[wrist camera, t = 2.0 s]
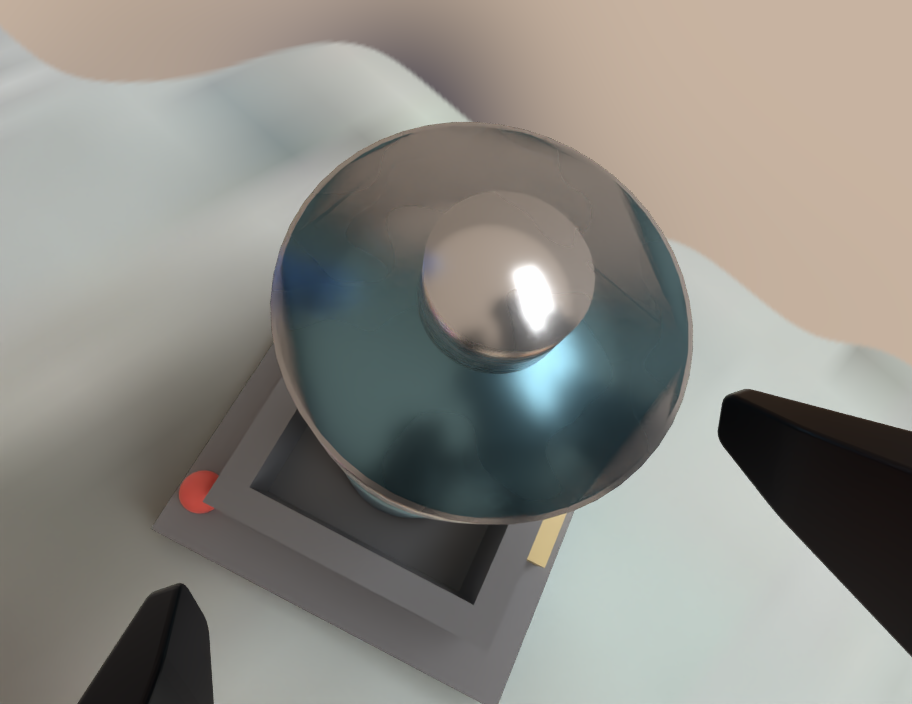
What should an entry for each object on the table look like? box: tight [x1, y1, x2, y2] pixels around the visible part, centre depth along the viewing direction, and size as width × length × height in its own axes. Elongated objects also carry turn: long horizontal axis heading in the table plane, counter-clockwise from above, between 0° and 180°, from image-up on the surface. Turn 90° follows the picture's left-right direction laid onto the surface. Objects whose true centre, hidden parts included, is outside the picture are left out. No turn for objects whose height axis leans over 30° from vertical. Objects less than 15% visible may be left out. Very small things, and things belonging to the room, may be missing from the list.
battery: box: [270, 122, 693, 524], centre depth 11 cm, size 4×4×13 cm
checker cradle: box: [151, 343, 575, 704], centre depth 16 cm, size 11×11×4 cm
